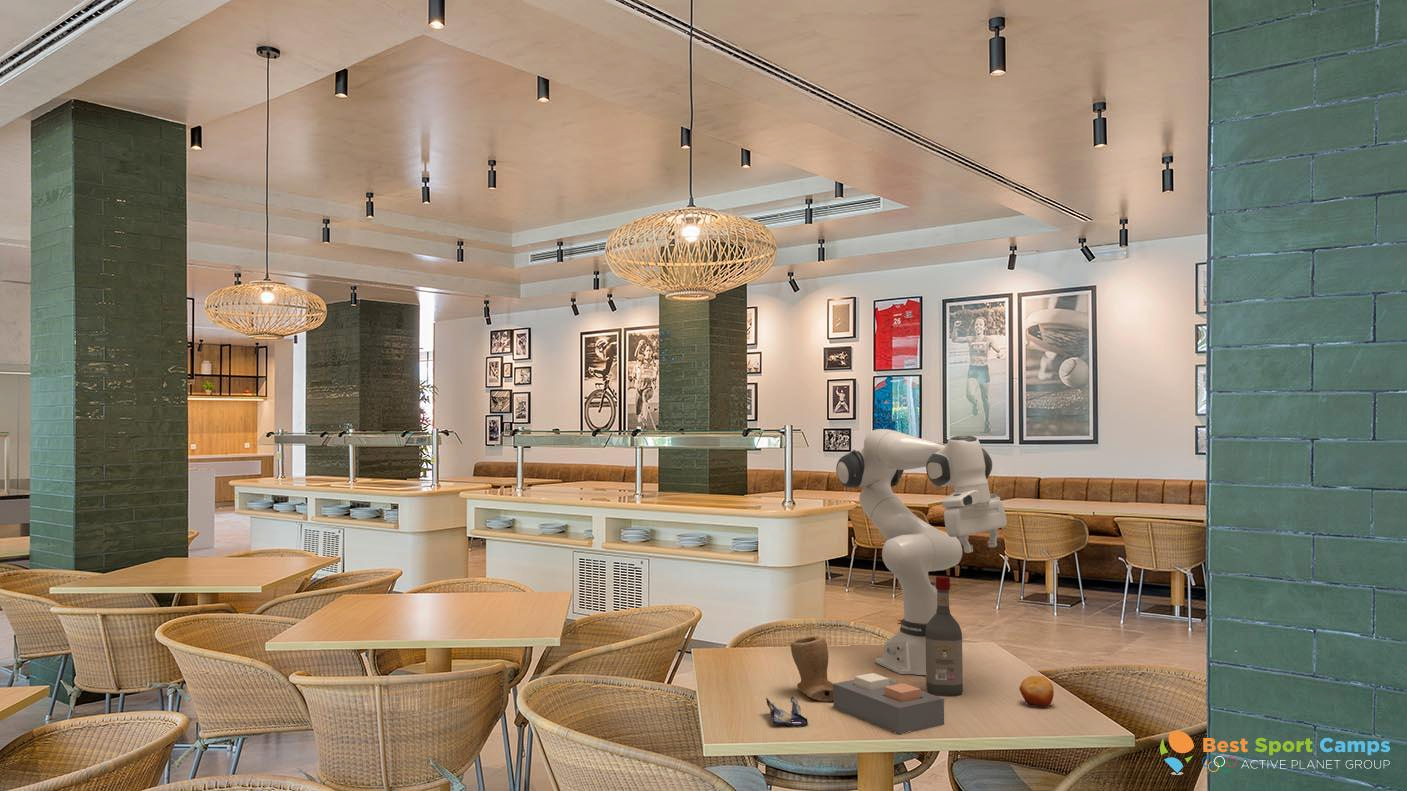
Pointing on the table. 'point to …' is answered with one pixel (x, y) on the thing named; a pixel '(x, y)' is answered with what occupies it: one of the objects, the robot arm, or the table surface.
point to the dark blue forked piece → (794, 714)
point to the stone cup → (812, 667)
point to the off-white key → (871, 681)
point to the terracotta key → (902, 692)
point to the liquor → (943, 647)
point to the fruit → (1037, 691)
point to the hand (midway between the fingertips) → (981, 549)
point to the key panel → (888, 708)
